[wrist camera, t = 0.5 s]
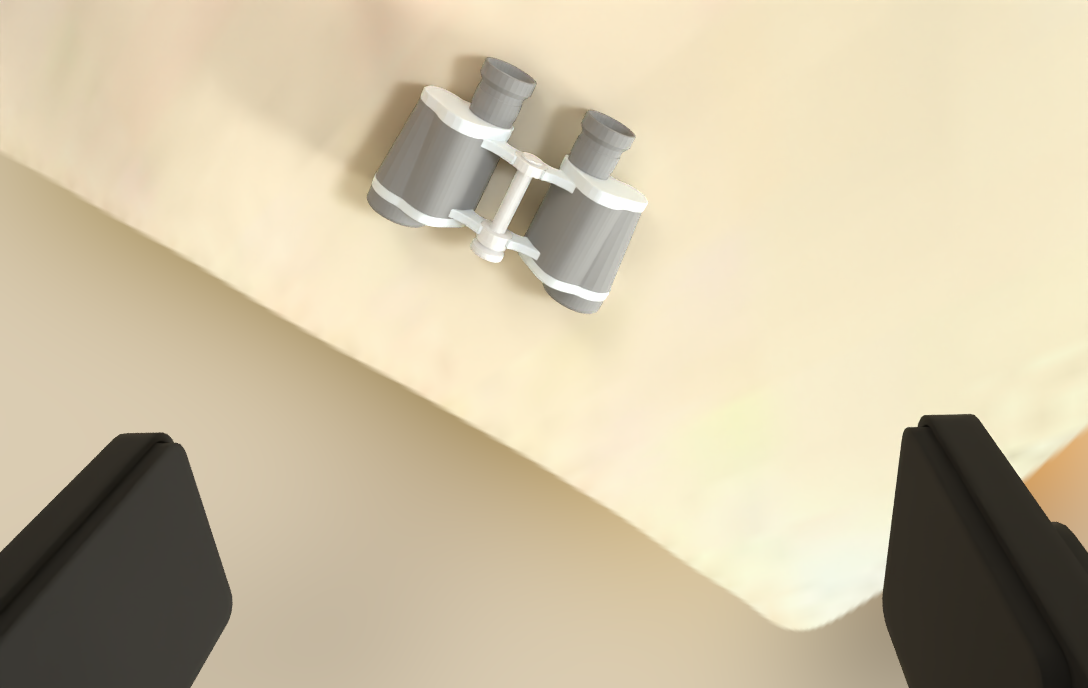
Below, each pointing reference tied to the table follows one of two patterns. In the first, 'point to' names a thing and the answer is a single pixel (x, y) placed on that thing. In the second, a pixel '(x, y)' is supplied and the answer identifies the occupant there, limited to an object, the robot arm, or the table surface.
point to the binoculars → (514, 186)
